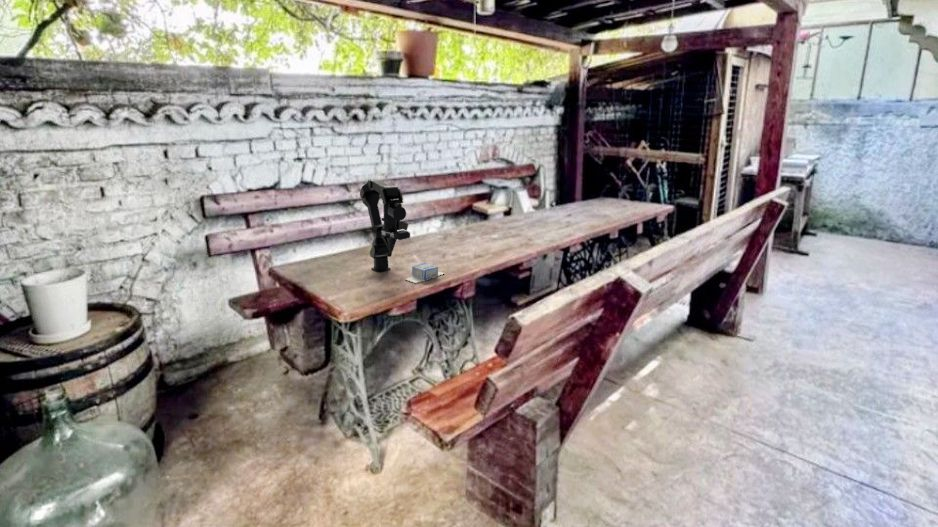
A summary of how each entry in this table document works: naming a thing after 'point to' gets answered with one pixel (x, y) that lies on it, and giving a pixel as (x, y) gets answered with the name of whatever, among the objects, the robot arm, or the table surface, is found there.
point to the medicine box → (424, 271)
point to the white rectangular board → (416, 279)
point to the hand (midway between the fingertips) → (391, 251)
